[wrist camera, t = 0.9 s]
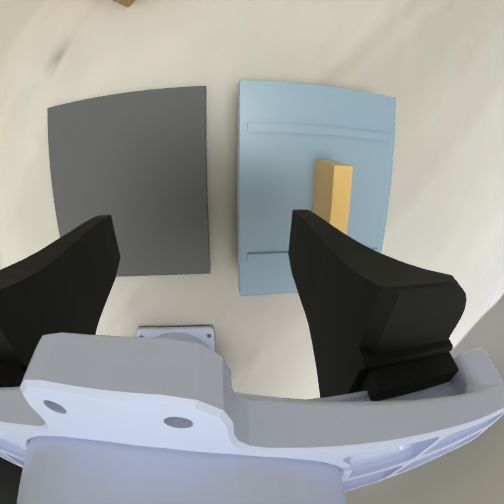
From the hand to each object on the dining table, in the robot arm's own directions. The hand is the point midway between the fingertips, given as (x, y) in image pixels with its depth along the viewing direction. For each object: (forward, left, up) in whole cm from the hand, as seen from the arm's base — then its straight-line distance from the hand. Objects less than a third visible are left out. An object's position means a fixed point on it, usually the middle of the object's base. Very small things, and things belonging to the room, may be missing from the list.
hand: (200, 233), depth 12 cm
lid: (0, -8, -11) cm, 13 cm away
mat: (0, +7, -14) cm, 16 cm away
